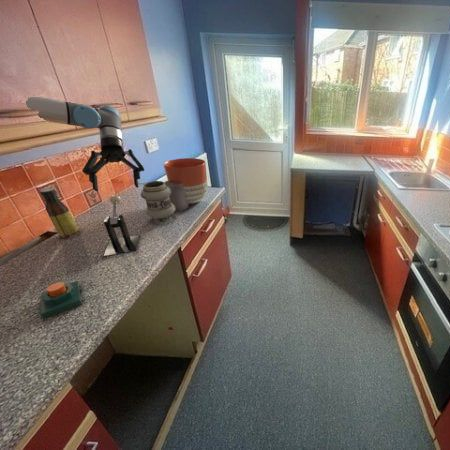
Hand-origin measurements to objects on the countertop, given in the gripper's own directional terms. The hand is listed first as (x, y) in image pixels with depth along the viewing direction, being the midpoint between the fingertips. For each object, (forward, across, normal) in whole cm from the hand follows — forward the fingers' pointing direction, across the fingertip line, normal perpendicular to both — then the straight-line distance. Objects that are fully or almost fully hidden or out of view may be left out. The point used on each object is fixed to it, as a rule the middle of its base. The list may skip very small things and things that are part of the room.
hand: (116, 187), depth 98 cm
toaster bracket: (+24, 0, -3) cm, 24 cm away
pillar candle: (+1, -20, -26) cm, 33 cm away
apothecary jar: (+10, -13, -17) cm, 24 cm away
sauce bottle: (+12, +21, -16) cm, 29 cm away
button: (+39, +12, +17) cm, 44 cm away
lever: (+11, 0, +1) cm, 11 cm away
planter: (-3, -26, -30) cm, 40 cm away
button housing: (+42, +12, +15) cm, 46 cm away
